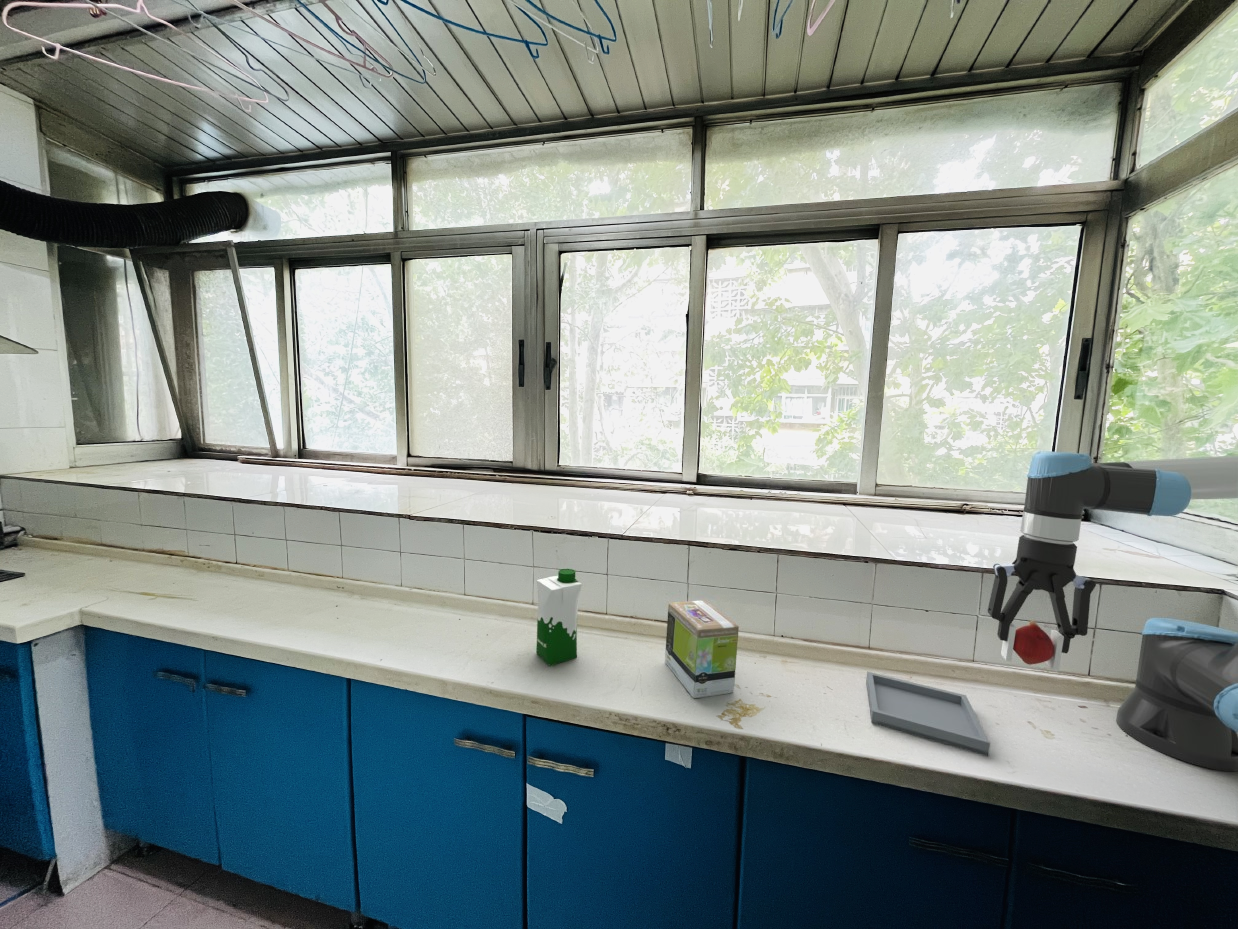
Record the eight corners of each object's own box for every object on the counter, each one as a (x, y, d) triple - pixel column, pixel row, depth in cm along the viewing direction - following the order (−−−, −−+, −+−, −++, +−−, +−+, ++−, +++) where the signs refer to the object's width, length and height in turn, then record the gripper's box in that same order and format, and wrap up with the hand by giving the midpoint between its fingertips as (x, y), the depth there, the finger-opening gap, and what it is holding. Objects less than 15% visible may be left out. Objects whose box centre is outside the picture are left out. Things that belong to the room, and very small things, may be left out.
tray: (964, 706, 94) (965, 695, 93) (988, 756, 79) (990, 743, 79) (866, 682, 101) (867, 671, 101) (871, 723, 87) (872, 711, 87)
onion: (1049, 664, 83) (1056, 622, 82) (1051, 676, 78) (1058, 632, 78) (1007, 652, 86) (1014, 612, 86) (1007, 663, 82) (1013, 621, 81)
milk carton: (582, 658, 106) (585, 575, 104) (547, 669, 101) (550, 582, 99) (563, 642, 113) (566, 564, 111) (530, 652, 108) (532, 570, 106)
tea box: (735, 693, 95) (740, 625, 94) (692, 700, 92) (697, 630, 90) (701, 657, 109) (705, 598, 108) (663, 662, 106) (666, 601, 105)
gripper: (1108, 542, 80) (1087, 667, 82) (976, 526, 88) (960, 640, 90) (1133, 553, 73) (1110, 689, 75) (988, 534, 81) (970, 657, 83)
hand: (1028, 662), depth 82 cm, fingers closed on onion, 6 cm apart
